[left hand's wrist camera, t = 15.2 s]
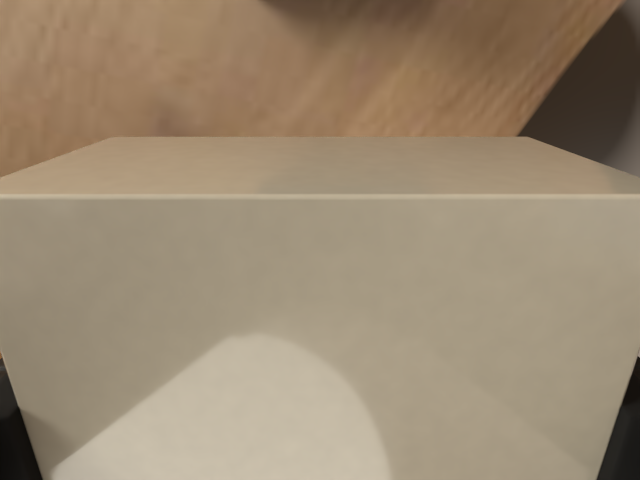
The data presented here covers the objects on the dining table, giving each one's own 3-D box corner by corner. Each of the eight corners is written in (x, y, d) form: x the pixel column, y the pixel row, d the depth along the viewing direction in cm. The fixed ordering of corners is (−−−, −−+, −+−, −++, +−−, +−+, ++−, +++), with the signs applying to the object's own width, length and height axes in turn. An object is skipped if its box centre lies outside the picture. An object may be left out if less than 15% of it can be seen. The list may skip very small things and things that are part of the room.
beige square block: (474, 449, 14) (547, 635, 10) (165, 449, 14) (91, 636, 10) (529, 136, 11) (693, 195, 6) (110, 136, 11) (-54, 195, 6)
